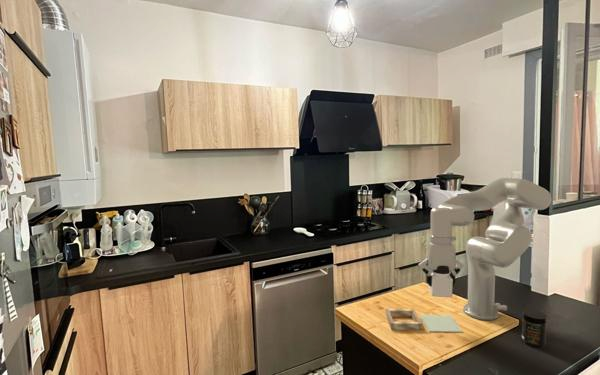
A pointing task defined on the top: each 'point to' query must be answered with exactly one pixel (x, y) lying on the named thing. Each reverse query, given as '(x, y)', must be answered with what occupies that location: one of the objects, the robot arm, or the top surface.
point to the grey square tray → (403, 325)
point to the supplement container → (534, 328)
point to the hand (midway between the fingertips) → (440, 284)
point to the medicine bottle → (441, 282)
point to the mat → (440, 323)
